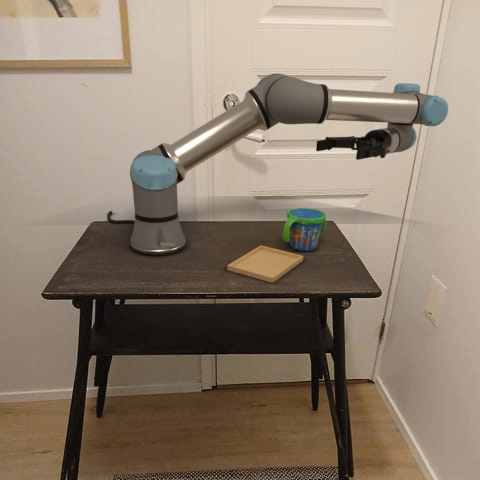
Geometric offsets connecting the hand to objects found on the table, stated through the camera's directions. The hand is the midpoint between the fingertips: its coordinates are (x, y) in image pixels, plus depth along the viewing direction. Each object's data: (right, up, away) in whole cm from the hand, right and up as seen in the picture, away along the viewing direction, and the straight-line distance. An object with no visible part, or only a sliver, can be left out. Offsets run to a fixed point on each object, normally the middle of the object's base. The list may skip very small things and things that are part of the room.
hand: (336, 150), depth 132 cm
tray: (-20, -32, -5) cm, 38 cm away
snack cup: (-8, -26, +6) cm, 28 cm away
